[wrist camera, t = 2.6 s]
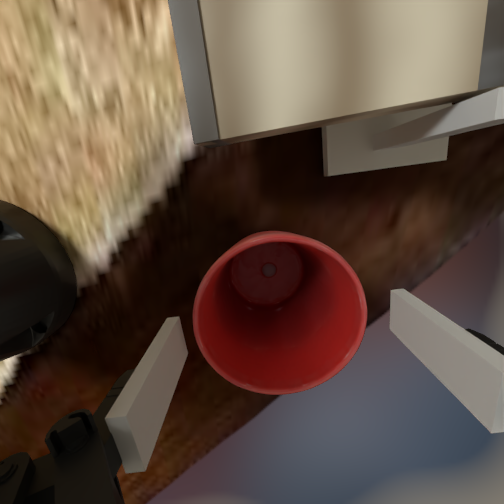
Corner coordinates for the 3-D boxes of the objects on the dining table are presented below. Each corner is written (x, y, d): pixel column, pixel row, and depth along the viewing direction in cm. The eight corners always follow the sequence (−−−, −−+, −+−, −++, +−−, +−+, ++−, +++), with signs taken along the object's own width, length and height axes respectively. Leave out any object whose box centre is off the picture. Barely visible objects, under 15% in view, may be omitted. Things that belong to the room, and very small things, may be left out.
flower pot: (318, 206, 22) (372, 223, 13) (321, 311, 25) (367, 387, 16) (205, 219, 22) (175, 246, 13) (222, 322, 25) (208, 405, 16)
